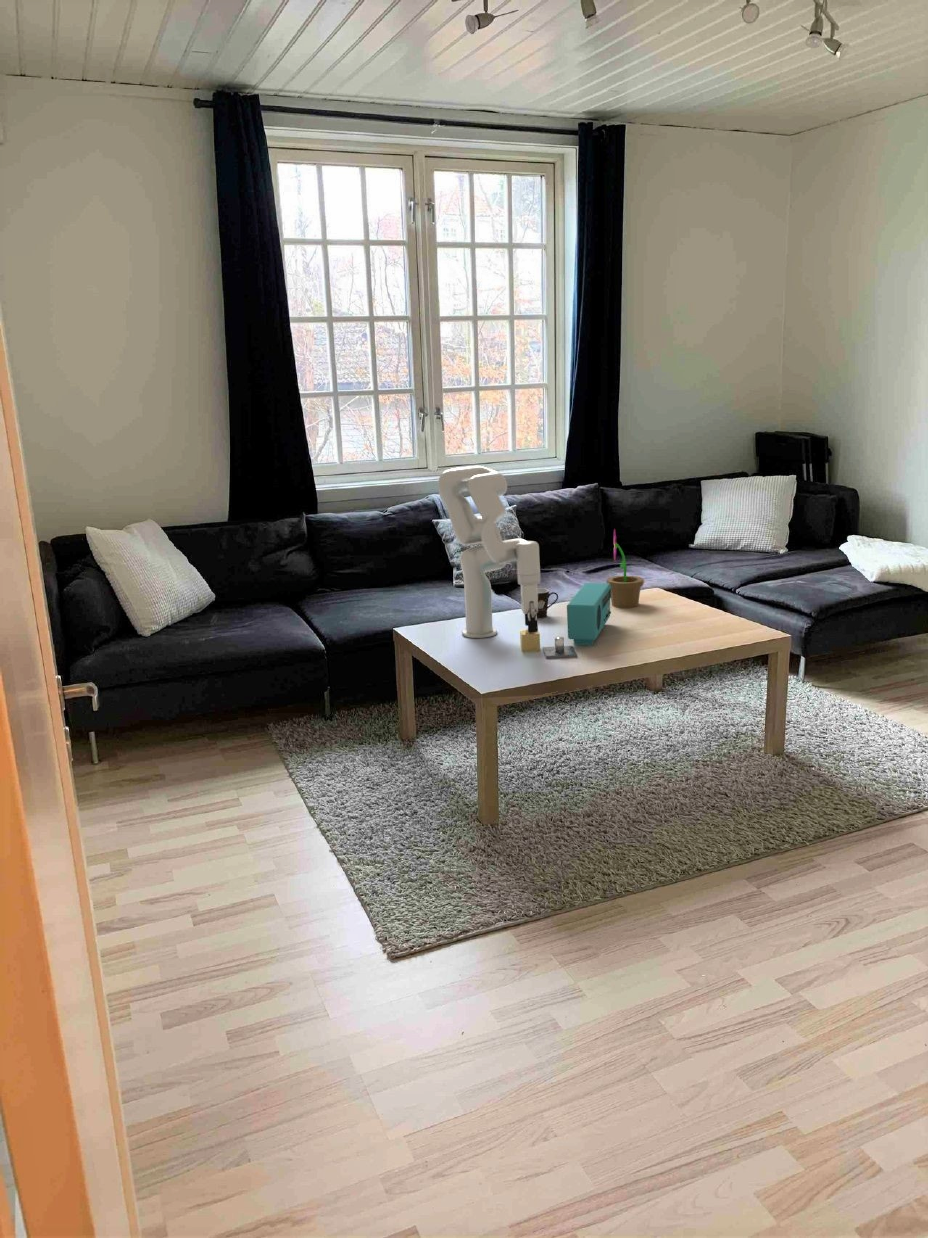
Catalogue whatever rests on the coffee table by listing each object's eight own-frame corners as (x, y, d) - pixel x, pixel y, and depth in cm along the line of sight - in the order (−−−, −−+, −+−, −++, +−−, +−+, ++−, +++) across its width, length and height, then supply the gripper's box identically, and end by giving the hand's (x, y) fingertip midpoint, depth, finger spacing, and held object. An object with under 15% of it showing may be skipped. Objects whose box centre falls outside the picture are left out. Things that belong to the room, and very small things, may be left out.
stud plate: (542, 650, 320) (542, 634, 319) (572, 648, 321) (572, 633, 319) (546, 658, 311) (546, 642, 309) (576, 657, 311) (576, 641, 310)
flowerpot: (605, 600, 382) (605, 526, 374) (642, 600, 381) (642, 525, 373) (607, 609, 368) (607, 533, 361) (645, 609, 367) (645, 532, 359)
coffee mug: (525, 618, 360) (524, 593, 358) (528, 613, 368) (528, 588, 366) (555, 619, 358) (555, 593, 355) (558, 613, 366) (558, 588, 363)
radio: (597, 649, 319) (597, 605, 315) (566, 647, 322) (566, 604, 318) (613, 622, 350) (613, 582, 347) (585, 621, 354) (584, 582, 350)
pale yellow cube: (520, 646, 325) (520, 629, 323) (538, 646, 325) (537, 629, 324) (522, 652, 319) (521, 634, 318) (540, 651, 319) (539, 633, 318)
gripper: (515, 574, 324) (518, 623, 328) (520, 584, 307) (522, 635, 311) (537, 573, 324) (539, 622, 328) (543, 582, 307) (545, 634, 311)
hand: (531, 628), depth 320 cm, fingers open, 9 cm apart
